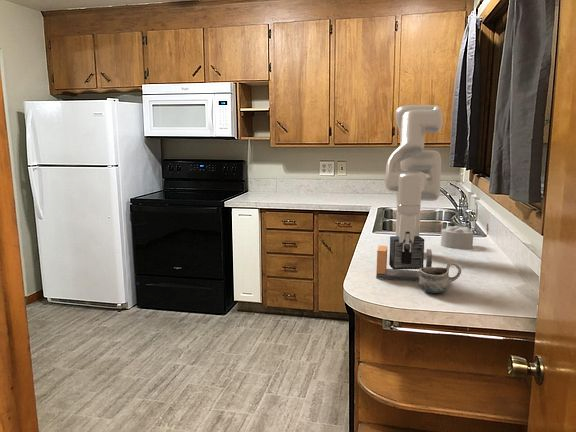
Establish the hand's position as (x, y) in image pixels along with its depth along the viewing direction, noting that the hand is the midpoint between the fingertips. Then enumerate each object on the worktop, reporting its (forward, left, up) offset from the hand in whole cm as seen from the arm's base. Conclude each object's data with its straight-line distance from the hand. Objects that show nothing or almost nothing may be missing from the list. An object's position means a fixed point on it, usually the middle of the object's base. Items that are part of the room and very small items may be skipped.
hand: (406, 260), depth 165 cm
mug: (+13, +10, -6) cm, 18 cm away
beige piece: (-54, +21, -6) cm, 59 cm away
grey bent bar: (0, 0, -6) cm, 6 cm away
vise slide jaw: (0, -8, -4) cm, 9 cm away
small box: (0, 0, -3) cm, 3 cm away
